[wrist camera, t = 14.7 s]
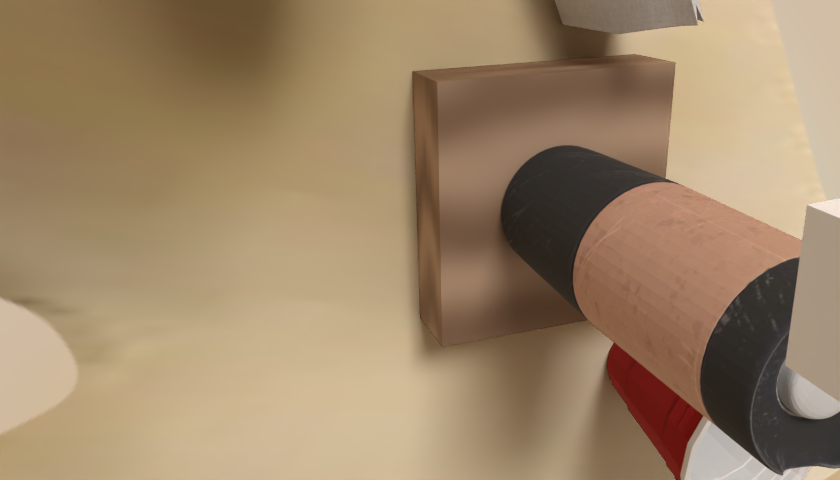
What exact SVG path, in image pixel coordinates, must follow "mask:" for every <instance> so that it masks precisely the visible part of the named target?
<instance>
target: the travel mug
mask: <svg viewBox="0 0 840 480" xmlns="http://www.w3.org/2000/svg"><path fill="white" fill-rule="evenodd" d="M501 217H502V226H503V230H504V233H505V236H506V239H507V241H508V243H509V244H510V246H511V247H512V249H513V250H514V251H515V252H516V253H517V254H518V255H519V256H520V257H521V258H522V259H523V260H524V261H525V262H526V263H527V264H528V265H529V266H530V267H531V268H532V269H533V270H534V271H535V272H536V273H537V274H539V275H540V276H541V277H542V278H543V279H544V280H545V281H546V282H547V283H548V284H549V285H550V286H551V287H553V288H554V289H555V290H556V291H557V292H558V293H559V294H560V295H561V296H562V297H563V298H564V299H565V300H567V301H568V302H569V303H570V304H571V305H572V306H573V307H574V308H575V309H576V310H577V311H578V312H579V313H580V314H582V315H583V316H584V317H585V318H586V319H587V320H588V321H589V322H591V324H593V325H594V326H595V327H596V328H597V329H599V330H600V331H601V332H602V333H603V334H605V335H606V336H607V337H608V338H610V339H611V340H612V341H613V342H614V343H616V344H617V345H618V346H619V347H620V348H622V349H623V350H624V351H625V352H627V353H628V354H629V355H630V356H631V357H633V358H634V359H635V360H636V361H638V362H639V363H640V364H641V365H642V366H644V367H645V368H646V369H647V370H648V371H650V372H651V373H652V374H653V375H655V376H656V377H657V378H658V379H659V380H661V381H662V382H663V383H664V384H665V385H667V386H668V387H669V388H670V389H672V390H673V391H674V392H675V393H676V394H678V395H679V396H680V397H681V398H683V399H684V400H685V401H686V402H687V403H689V404H690V405H691V406H692V407H693V408H695V409H696V410H697V411H698V412H700V413H701V414H702V415H703V416H704V417H706V418H707V419H708V420H709V421H710V422H712V423H713V424H714V425H715V426H717V427H718V428H719V429H720V430H721V431H723V432H724V433H725V434H726V435H727V436H729V437H730V438H731V439H732V440H734V441H735V442H736V443H737V444H738V445H740V446H741V447H742V448H743V449H744V450H746V451H747V452H748V453H749V454H751V455H752V456H753V457H754V458H755V459H757V460H758V461H759V462H760V463H762V464H763V465H764V466H765V467H767V468H768V469H770V470H771V471H773V472H774V473H776V474H778V475H783V472H784V471H785V470H788V469H793V468H800V467H808V466H822V467H827V468H840V402H839V401H837V400H836V399H834V398H833V397H831V396H830V395H828V394H827V393H825V392H824V391H822V390H821V389H819V388H818V387H816V386H815V385H814V384H812V383H811V382H809V381H808V380H806V379H805V378H803V377H802V376H800V375H799V374H797V373H796V372H794V371H793V370H791V369H790V368H788V367H787V366H785V361H786V354H787V347H788V340H789V332H790V325H791V318H792V311H793V303H794V296H795V289H796V282H797V275H798V267H799V260H800V253H801V246H802V240H800V239H797V238H795V237H793V236H791V235H789V234H787V233H785V232H782V231H780V230H778V229H776V228H774V227H772V226H769V225H767V224H765V223H763V222H761V221H759V220H756V219H754V218H752V217H750V216H748V215H746V214H743V213H741V212H739V211H737V210H735V209H733V208H730V207H728V206H726V205H724V204H722V203H720V202H717V201H715V200H713V199H711V198H709V197H707V196H704V195H702V194H700V193H698V192H696V191H694V190H692V189H689V188H687V187H685V186H683V185H680V184H678V183H675V182H673V181H670V180H668V179H665V178H663V177H660V176H657V175H655V174H652V173H650V172H647V171H645V170H642V169H639V168H637V167H634V166H632V165H629V164H627V163H624V162H621V161H619V160H616V159H614V158H611V157H609V156H606V155H603V154H601V153H598V152H595V151H593V150H590V149H587V148H583V147H580V146H573V145H562V146H556V147H552V148H549V149H546V150H544V151H541V152H539V153H538V154H536V155H534V156H533V157H531V158H530V159H529V160H528V161H526V162H525V163H524V164H523V165H522V166H521V167H520V168H519V170H518V171H517V172H516V173H515V175H514V176H513V178H512V180H511V181H510V183H509V185H508V187H507V189H506V192H505V195H504V198H503V203H502V212H501Z"/></svg>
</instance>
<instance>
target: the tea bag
mask: <svg viewBox="0 0 840 480" xmlns="http://www.w3.org/2000/svg"><path fill="white" fill-rule="evenodd" d="M555 3H556V6H557V9H558V12H559V15H560V18H561V21H562V24H563V25H567V26H573V27H579V28H585V29H591V30H597V31H603V32H609V33H615V34H623V33H630V32H638V31H645V30H652V29H659V28H667V27H676V26H690V25H698V22H697V20H700V21H703V22H704V20H703V16H702V12H701V8H700V4H699V0H555Z"/></svg>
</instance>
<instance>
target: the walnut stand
mask: <svg viewBox="0 0 840 480" xmlns="http://www.w3.org/2000/svg"><path fill="white" fill-rule="evenodd" d="M675 64H676V63H675V62H671V61H666V60H661V59H656V58H651V57H646V56H641V55H636V54H632V55H619V56H606V57H593V58H580V59H567V60H554V61H541V62H528V63H515V64H503V65H490V66H477V67H464V68H451V69H438V70H425V71H413V95H414V128H415V161H416V195H417V228H418V261H419V294H420V318H421V319H422V321H423V322H424V323H425V325H426V326H427V327H428V329H429V330H430V331H431V333H432V334H433V335H434V337H435V338H436V339H437V341H438V342H439V343H440V345H441V346H442V347H445V346H450V345H455V344H461V343H466V342H472V341H477V340H482V339H488V338H493V337H498V336H504V335H509V334H515V333H520V332H525V331H531V330H536V329H542V328H547V327H552V326H558V325H563V324H568V323H574V322H579V321H585V320H587V319H586V318H585V317H584V316H583V315H582V314H580V313H579V312H578V311H577V310H576V309H575V308H574V307H573V306H572V305H571V304H570V303H569V302H568V301H567V300H565V299H564V298H563V297H562V296H561V295H560V294H559V293H558V292H557V291H556V290H555V289H554V288H553V287H551V286H550V285H549V284H548V283H547V282H546V281H545V280H544V279H543V278H542V277H541V276H540V275H539V274H537V273H536V272H535V271H534V270H533V269H532V268H531V267H530V266H529V265H528V264H527V263H526V262H525V261H524V260H523V259H522V258H521V257H520V256H519V255H518V254H517V253H516V252H515V251H514V250H513V249H512V247H511V246H510V244H509V243H508V241H507V239H506V236H505V233H504V230H503V226H502V217H501V212H502V203H503V198H504V195H505V192H506V189H507V187H508V185H509V183H510V181H511V180H512V178H513V176H514V175H515V173H516V172H517V171H518V170H519V168H520V167H521V166H522V165H523V164H524V163H525V162H526V161H528V160H529V159H530V158H531V157H533V156H534V155H536V154H538V153H539V152H541V151H544V150H546V149H549V148H552V147H556V146H562V145H573V146H580V147H583V148H587V149H590V150H593V151H595V152H598V153H601V154H603V155H606V156H609V157H611V158H614V159H616V160H619V161H621V162H624V163H627V164H629V165H632V166H634V167H637V168H639V169H642V170H645V171H647V172H650V173H652V174H655V175H657V176H660V177H663V178H665V177H666V166H667V154H668V143H669V132H670V120H671V109H672V98H673V86H674V75H675Z"/></svg>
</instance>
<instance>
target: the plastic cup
mask: <svg viewBox="0 0 840 480" xmlns="http://www.w3.org/2000/svg"><path fill="white" fill-rule="evenodd" d="M607 369H608V373H609V377H610V380H611V381H612V385H613V386H614V388H615V389H616V390H617V392H618V393H619V395H620V396H621V397H622V399H623V400H624V402H625V403H626V404H627V407H628V410H629V411H630V413H631V414H632V415H633V417H634V418H635V420H636V421H637V422H638V424H639V425H640V427H641V428H642V429H643V431H644V432H645V433H646V435H647V436H648V438H649V439H650V440H651V442H652V443H653V445H654V446H655V447H656V449H657V450H658V452H659V453H660V454H661V456H662V457H663V459H664V460H665V461H666V465H667V467H668V468H669V469H670V470H671V472H672V473H673V474H674V476H675V479H676V480H804V479H805V477H806V476H807V474H808V472H809V471H810V469H811V467H812V466H808V467H800V468H793V469H788V470H785V471H784V472H783V475H778V474H776V473H774V472H773V471H771V470H770V469H768V468H767V467H765V466H764V465H763V464H762V463H760V462H759V461H758V460H757V459H755V458H754V457H753V456H752V455H751V454H749V453H748V452H747V451H746V450H744V449H743V448H742V447H741V446H740V445H738V444H737V443H736V442H735V441H734V440H732V439H731V438H730V437H729V436H727V435H726V434H725V433H724V432H723V431H721V430H720V429H719V428H718V427H717V426H715V425H714V424H713V423H712V422H710V421H709V420H708V419H707V418H706V417H704V416H703V415H702V414H701V413H700V412H698V411H697V410H696V409H695V408H693V407H692V406H691V405H690V404H689V403H687V402H686V401H685V400H684V399H683V398H681V397H680V396H679V395H678V394H676V393H675V392H674V391H673V390H672V389H670V388H669V387H668V386H667V385H665V384H664V383H663V382H662V381H661V380H659V379H658V378H657V377H656V376H655V375H653V374H652V373H651V372H650V371H648V370H647V369H646V368H645V367H644V366H642V365H641V364H640V363H639V362H638V361H636V360H635V359H634V358H633V357H631V356H630V355H629V354H628V353H627V352H625V351H624V350H623V349H622V348H620V347H619V346H618V345H617V344H616V343H614V344H613V346H612V348H611V350H610V352H609V357H608V362H607Z"/></svg>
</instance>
